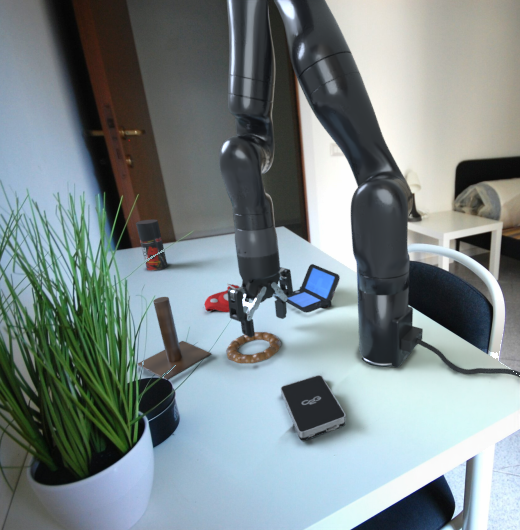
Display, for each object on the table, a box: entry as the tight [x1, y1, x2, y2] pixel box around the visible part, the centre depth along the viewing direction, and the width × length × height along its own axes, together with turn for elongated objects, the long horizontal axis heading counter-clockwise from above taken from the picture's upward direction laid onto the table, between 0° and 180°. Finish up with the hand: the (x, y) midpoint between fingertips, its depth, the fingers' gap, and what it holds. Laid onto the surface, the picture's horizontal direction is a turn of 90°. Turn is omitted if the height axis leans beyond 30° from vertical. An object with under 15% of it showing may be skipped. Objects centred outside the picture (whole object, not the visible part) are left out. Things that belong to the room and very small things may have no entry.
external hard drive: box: [280, 374, 347, 442], centre depth 56 cm, size 7×11×2 cm, turn 26°
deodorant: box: [135, 219, 168, 271], centre depth 116 cm, size 6×6×15 cm
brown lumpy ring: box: [225, 331, 282, 364], centre depth 71 cm, size 10×10×2 cm
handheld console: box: [286, 263, 341, 314], centre depth 91 cm, size 12×11×7 cm
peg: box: [137, 296, 212, 380], centre depth 66 cm, size 9×9×13 cm
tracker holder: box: [203, 283, 240, 313], centre depth 91 cm, size 12×4×10 cm
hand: (266, 326), depth 74 cm, fingers open, 8 cm apart
